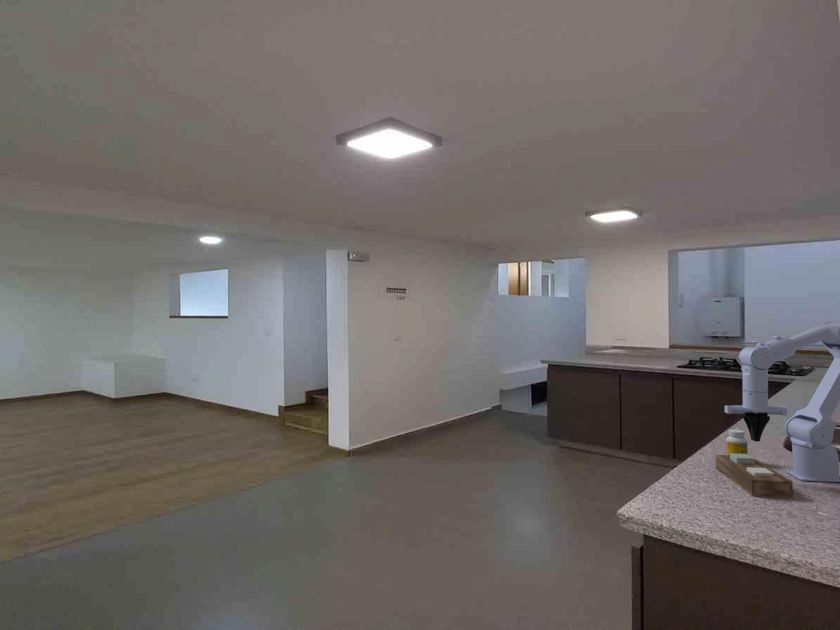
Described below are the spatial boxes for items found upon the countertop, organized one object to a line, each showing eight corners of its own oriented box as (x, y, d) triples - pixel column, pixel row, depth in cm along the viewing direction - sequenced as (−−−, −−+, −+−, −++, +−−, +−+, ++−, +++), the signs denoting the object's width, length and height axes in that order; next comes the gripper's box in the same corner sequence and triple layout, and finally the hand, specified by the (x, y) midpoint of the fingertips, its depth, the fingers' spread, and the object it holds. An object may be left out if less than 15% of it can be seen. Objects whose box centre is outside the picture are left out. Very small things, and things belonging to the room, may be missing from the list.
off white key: (765, 479, 127) (765, 467, 127) (774, 485, 123) (773, 473, 123) (746, 478, 128) (746, 467, 128) (754, 484, 123) (754, 472, 124)
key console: (750, 469, 140) (749, 455, 140) (793, 497, 118) (792, 481, 118) (716, 468, 142) (715, 454, 142) (752, 495, 120) (751, 479, 120)
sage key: (747, 464, 137) (747, 453, 137) (754, 469, 132) (754, 458, 132) (730, 464, 138) (729, 453, 138) (737, 468, 133) (736, 458, 133)
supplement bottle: (732, 458, 151) (731, 427, 151) (751, 462, 146) (750, 431, 146) (723, 461, 148) (722, 430, 148) (743, 466, 143) (742, 433, 143)
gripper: (777, 389, 135) (777, 438, 135) (719, 388, 138) (720, 435, 138) (791, 393, 128) (791, 444, 128) (730, 391, 131) (731, 442, 131)
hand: (755, 440), depth 133 cm, fingers closed
